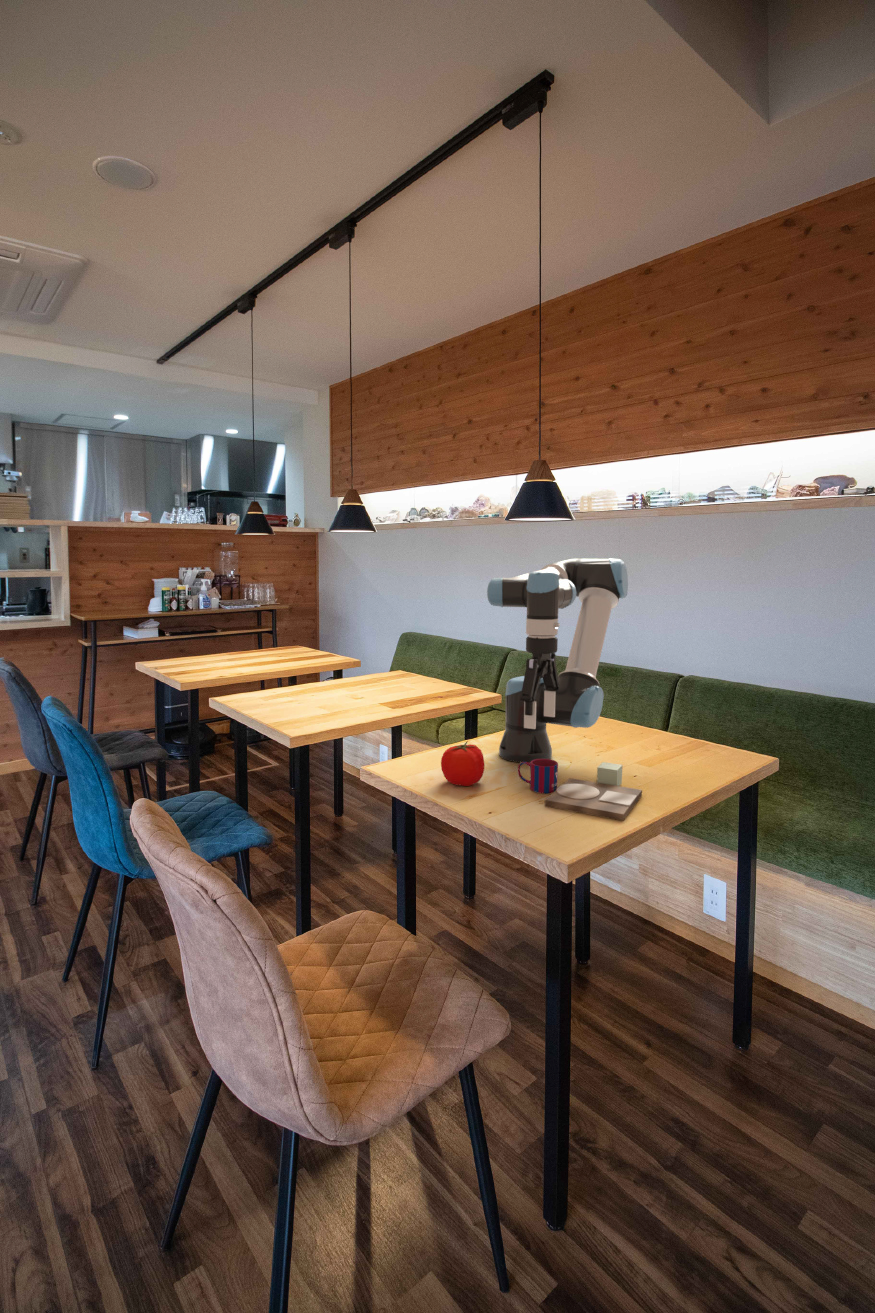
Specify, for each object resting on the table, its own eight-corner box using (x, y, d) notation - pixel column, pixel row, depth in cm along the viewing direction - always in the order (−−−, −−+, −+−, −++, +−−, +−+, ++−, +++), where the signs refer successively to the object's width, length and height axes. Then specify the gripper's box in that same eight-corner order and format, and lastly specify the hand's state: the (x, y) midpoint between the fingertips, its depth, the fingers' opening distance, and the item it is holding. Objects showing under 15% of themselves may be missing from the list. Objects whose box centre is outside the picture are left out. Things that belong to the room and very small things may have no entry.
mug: (551, 795, 162) (552, 768, 161) (513, 788, 167) (513, 762, 166) (561, 787, 168) (562, 761, 167) (524, 780, 173) (524, 755, 172)
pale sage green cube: (596, 786, 169) (597, 767, 168) (602, 780, 173) (602, 762, 173) (616, 789, 167) (617, 770, 166) (621, 783, 171) (622, 764, 170)
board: (544, 806, 156) (545, 798, 155) (569, 783, 171) (569, 776, 170) (623, 820, 147) (623, 813, 146) (641, 796, 162) (642, 788, 162)
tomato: (477, 774, 178) (478, 736, 177) (489, 790, 166) (490, 749, 165) (436, 776, 177) (436, 738, 175) (445, 793, 164) (445, 752, 163)
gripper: (538, 642, 150) (536, 735, 153) (573, 631, 171) (570, 713, 174) (507, 640, 153) (505, 731, 156) (544, 630, 175) (543, 710, 178)
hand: (539, 722), depth 165 cm, fingers open, 13 cm apart
